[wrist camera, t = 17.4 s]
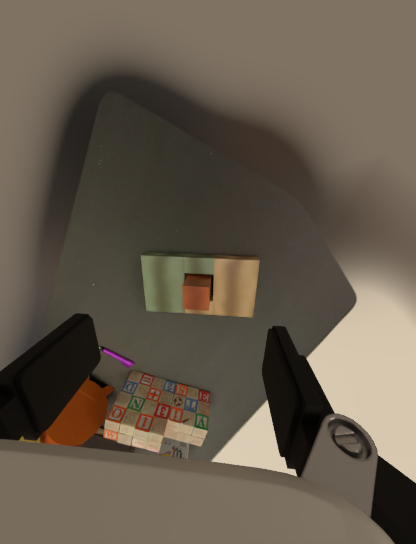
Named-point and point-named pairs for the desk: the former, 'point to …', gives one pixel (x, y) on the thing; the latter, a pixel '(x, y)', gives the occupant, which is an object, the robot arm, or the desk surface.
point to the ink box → (173, 448)
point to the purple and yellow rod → (118, 357)
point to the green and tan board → (226, 269)
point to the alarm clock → (78, 417)
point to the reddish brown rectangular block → (197, 292)
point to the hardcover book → (106, 443)
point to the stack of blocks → (157, 413)
